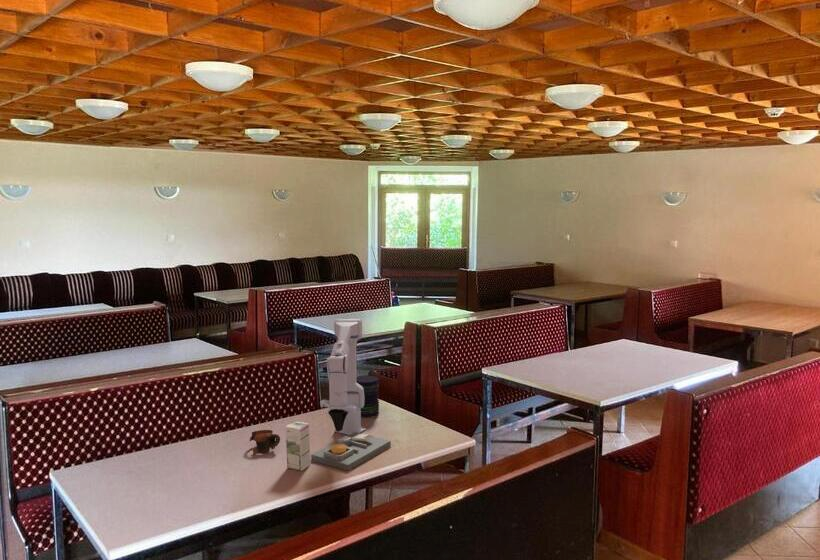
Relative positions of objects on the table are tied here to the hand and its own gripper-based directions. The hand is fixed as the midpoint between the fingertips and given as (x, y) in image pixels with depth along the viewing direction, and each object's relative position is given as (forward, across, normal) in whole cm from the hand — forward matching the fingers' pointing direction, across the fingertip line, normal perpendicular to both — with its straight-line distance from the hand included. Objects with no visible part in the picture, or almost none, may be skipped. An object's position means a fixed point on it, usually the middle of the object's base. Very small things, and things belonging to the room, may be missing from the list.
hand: (339, 430), depth 204 cm
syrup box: (+11, -8, -11) cm, 18 cm away
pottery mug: (+11, -28, -7) cm, 31 cm away
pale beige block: (+8, -3, +7) cm, 11 cm away
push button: (+8, 0, 0) cm, 8 cm away
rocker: (+7, 0, +13) cm, 14 cm away
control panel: (+10, 0, +7) cm, 12 cm away
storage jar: (+11, -20, +42) cm, 47 cm away
